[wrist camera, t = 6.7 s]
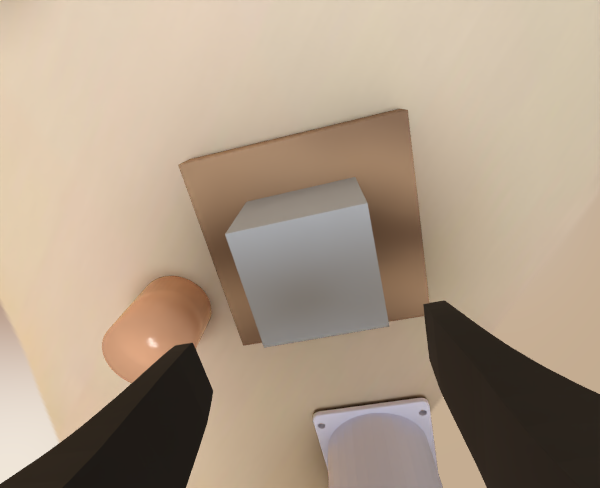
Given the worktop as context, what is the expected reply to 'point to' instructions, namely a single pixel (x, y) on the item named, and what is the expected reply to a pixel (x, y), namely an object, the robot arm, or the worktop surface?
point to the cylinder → (156, 325)
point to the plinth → (312, 172)
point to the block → (309, 263)
